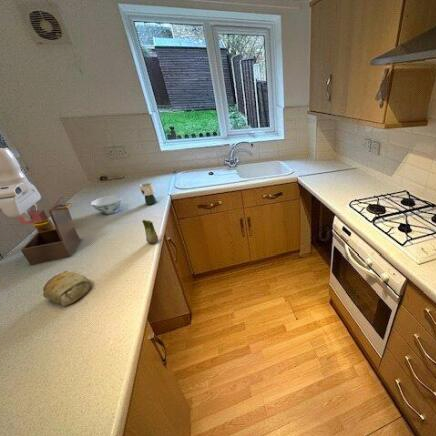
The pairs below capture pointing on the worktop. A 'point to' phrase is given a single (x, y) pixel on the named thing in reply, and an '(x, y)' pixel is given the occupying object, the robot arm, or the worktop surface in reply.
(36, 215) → the pink rectangular block
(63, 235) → the chest lid
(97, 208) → the chinaware
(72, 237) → the chest
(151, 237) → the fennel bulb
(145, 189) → the character mug
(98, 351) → the worktop surface
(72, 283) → the pastry
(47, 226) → the condiment
